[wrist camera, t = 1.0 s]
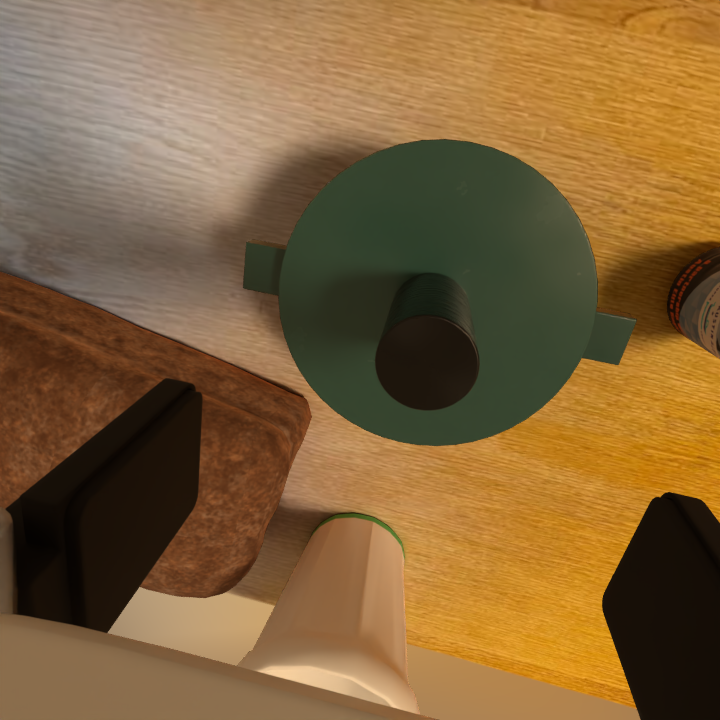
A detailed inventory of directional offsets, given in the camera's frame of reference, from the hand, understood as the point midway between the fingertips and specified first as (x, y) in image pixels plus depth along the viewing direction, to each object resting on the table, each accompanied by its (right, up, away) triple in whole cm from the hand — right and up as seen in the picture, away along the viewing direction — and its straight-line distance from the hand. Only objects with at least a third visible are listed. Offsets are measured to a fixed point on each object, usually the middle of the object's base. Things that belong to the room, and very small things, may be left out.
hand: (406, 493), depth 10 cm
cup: (-1, -14, +34) cm, 36 cm away
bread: (-20, -1, +31) cm, 37 cm away
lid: (+2, +5, +13) cm, 15 cm away
